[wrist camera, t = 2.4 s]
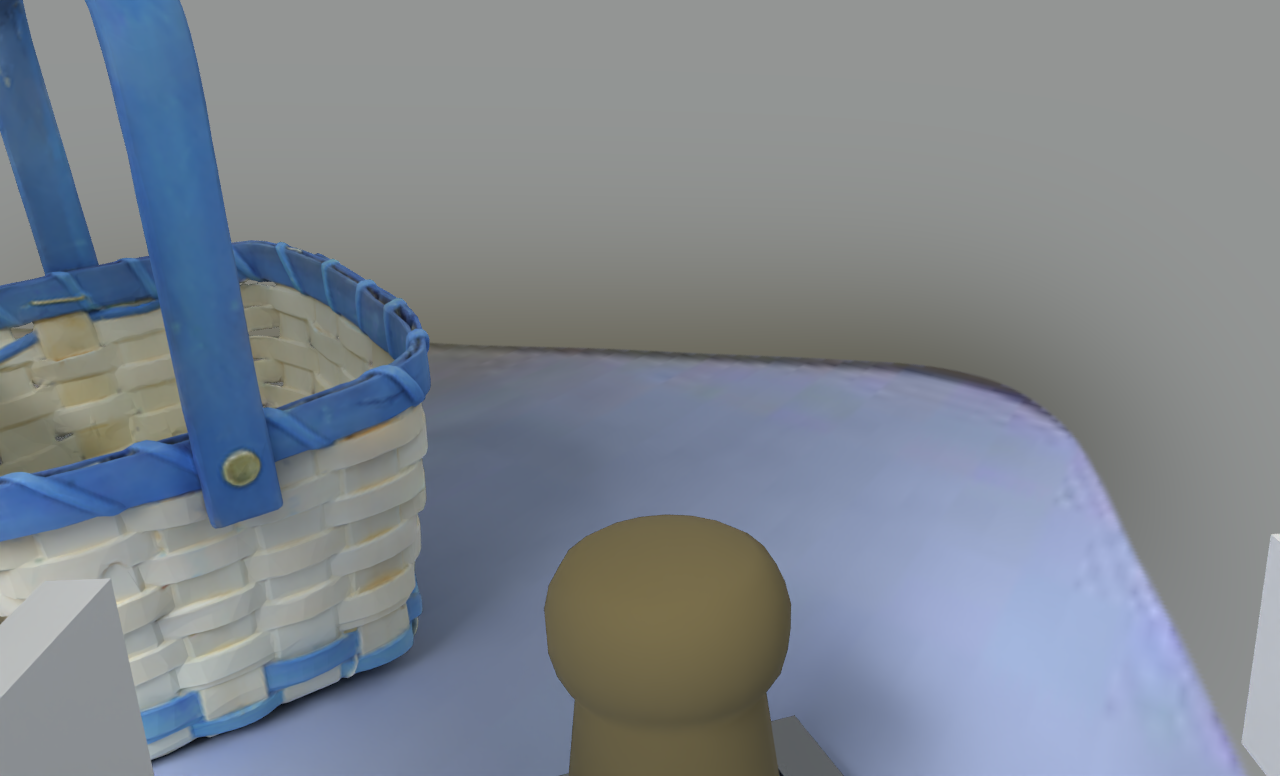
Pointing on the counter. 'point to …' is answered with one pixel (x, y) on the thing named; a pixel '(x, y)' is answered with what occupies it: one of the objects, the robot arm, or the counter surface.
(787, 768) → the grey square frame
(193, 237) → the basket
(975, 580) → the counter surface
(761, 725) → the cork
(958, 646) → the counter surface
